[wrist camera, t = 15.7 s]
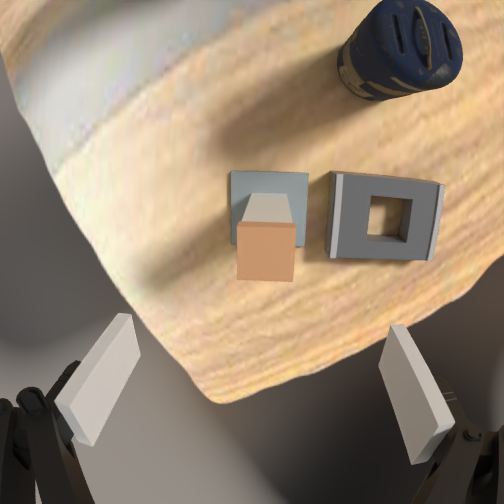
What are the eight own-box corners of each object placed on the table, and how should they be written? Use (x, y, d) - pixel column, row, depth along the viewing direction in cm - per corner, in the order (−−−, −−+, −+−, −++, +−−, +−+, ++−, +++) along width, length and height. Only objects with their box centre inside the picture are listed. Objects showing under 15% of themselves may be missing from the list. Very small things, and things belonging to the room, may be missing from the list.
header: (324, 249, 43) (328, 258, 40) (330, 170, 39) (335, 173, 36) (424, 252, 42) (433, 261, 39) (435, 181, 38) (446, 185, 35)
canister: (403, 49, 32) (473, 12, 15) (397, 110, 35) (472, 102, 18) (337, 31, 32) (377, -29, 15) (330, 93, 35) (372, 65, 19)
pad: (232, 242, 44) (231, 244, 43) (231, 170, 40) (230, 171, 39) (303, 245, 43) (304, 246, 42) (308, 173, 39) (308, 173, 39)
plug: (250, 226, 42) (237, 279, 27) (250, 191, 40) (236, 226, 25) (286, 228, 42) (292, 281, 27) (287, 192, 40) (296, 228, 25)
